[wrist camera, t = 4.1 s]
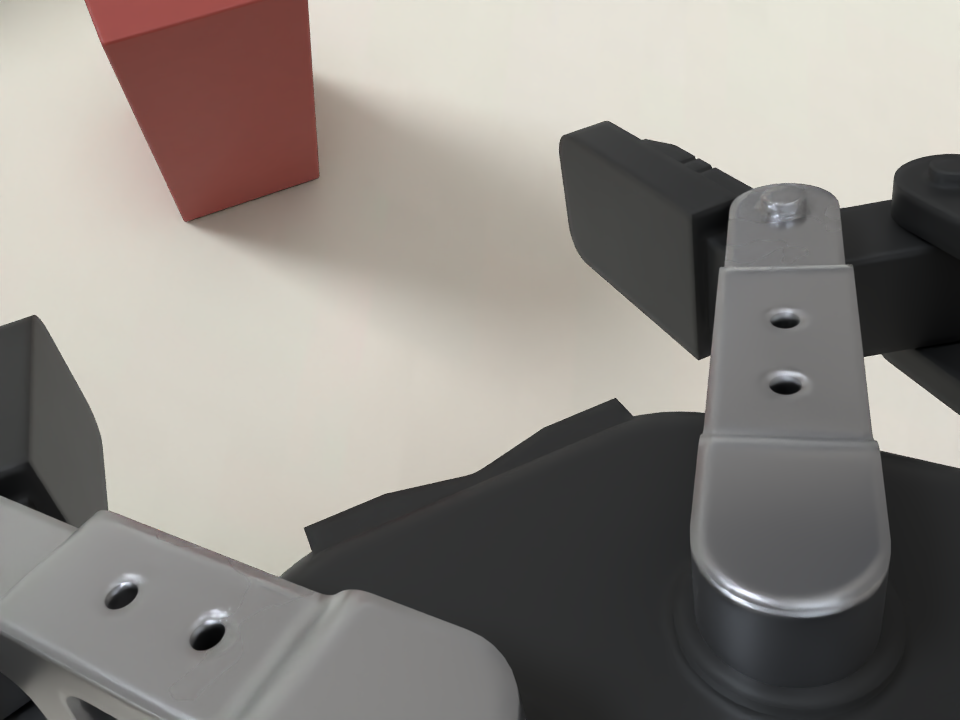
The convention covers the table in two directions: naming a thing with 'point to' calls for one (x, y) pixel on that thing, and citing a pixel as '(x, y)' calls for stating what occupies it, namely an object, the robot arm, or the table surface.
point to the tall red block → (217, 93)
